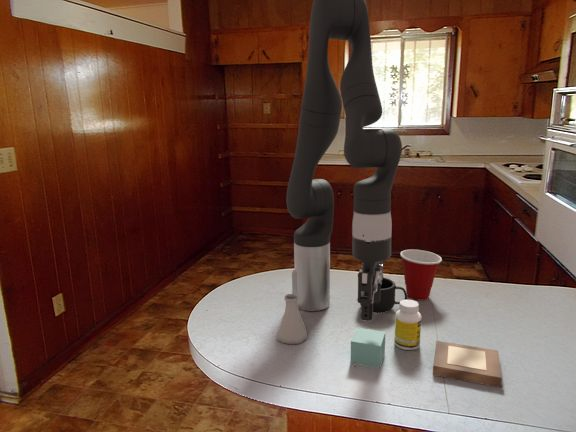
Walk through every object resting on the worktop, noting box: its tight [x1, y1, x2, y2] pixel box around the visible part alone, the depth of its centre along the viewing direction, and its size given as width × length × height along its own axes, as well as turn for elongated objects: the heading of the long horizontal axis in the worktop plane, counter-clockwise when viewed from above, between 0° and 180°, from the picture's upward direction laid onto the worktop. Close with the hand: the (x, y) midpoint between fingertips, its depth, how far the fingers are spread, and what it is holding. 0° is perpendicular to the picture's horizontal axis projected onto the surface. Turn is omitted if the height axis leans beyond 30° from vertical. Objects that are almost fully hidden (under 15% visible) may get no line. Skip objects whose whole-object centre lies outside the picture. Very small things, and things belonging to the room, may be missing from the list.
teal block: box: [350, 327, 386, 369], centre depth 93 cm, size 6×6×5 cm
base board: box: [432, 340, 503, 388], centre depth 89 cm, size 12×10×2 cm
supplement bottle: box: [393, 299, 422, 351], centre depth 97 cm, size 5×5×10 cm
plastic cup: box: [400, 249, 443, 301], centre depth 121 cm, size 11×11×12 cm
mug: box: [359, 276, 408, 314], centre depth 114 cm, size 12×9×7 cm
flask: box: [276, 293, 308, 345], centre depth 101 cm, size 7×7×10 cm
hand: (370, 310), depth 90 cm, fingers open, 8 cm apart
